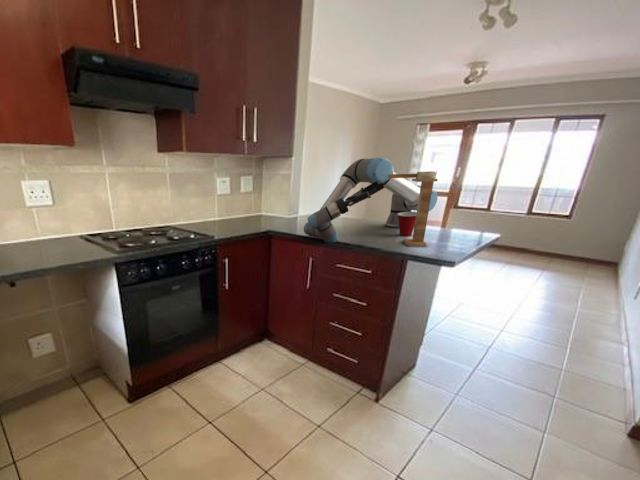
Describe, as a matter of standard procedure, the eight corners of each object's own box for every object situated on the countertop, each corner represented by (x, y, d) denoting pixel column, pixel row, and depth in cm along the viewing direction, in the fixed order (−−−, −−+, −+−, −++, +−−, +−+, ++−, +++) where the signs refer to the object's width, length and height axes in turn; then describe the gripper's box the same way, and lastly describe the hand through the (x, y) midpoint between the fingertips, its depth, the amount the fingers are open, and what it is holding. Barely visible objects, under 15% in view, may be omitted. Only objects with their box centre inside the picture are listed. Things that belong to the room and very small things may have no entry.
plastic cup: (389, 234, 185) (392, 212, 181) (403, 232, 189) (407, 211, 185) (406, 238, 176) (409, 214, 171) (420, 235, 180) (424, 212, 176)
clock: (386, 179, 158) (387, 172, 157) (432, 178, 154) (433, 171, 153) (389, 180, 151) (390, 173, 150) (438, 178, 147) (439, 171, 146)
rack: (402, 241, 168) (412, 178, 157) (419, 241, 166) (430, 178, 155) (407, 246, 159) (417, 179, 148) (426, 246, 157) (437, 178, 146)
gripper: (336, 204, 152) (381, 178, 144) (333, 199, 174) (372, 176, 167) (343, 218, 153) (389, 193, 146) (339, 211, 176) (379, 189, 168)
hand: (380, 184), depth 156 cm, fingers open, 13 cm apart
